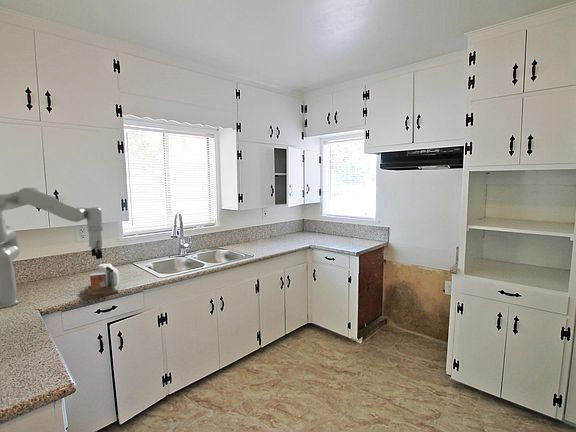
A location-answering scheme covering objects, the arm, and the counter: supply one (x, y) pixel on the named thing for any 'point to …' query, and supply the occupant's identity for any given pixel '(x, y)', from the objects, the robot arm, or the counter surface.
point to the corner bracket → (115, 272)
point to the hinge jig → (109, 290)
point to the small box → (98, 280)
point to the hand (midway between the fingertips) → (97, 257)
